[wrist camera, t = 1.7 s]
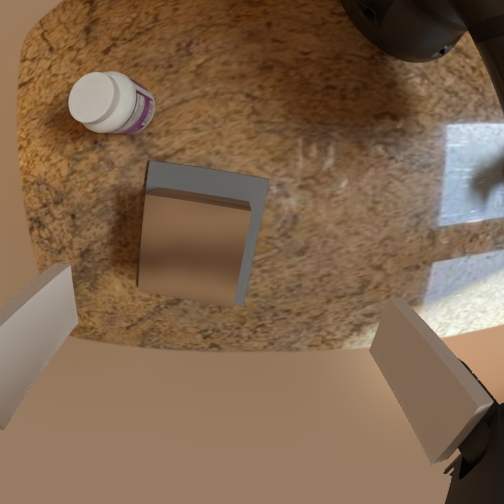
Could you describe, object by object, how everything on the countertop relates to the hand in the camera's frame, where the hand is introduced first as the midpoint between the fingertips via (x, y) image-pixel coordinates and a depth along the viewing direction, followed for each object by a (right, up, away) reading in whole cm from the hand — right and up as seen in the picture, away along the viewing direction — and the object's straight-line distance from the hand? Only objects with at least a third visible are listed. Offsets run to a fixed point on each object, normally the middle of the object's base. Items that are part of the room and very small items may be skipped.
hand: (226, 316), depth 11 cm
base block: (-5, +4, +19) cm, 20 cm away
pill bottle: (-11, +17, +15) cm, 25 cm away
